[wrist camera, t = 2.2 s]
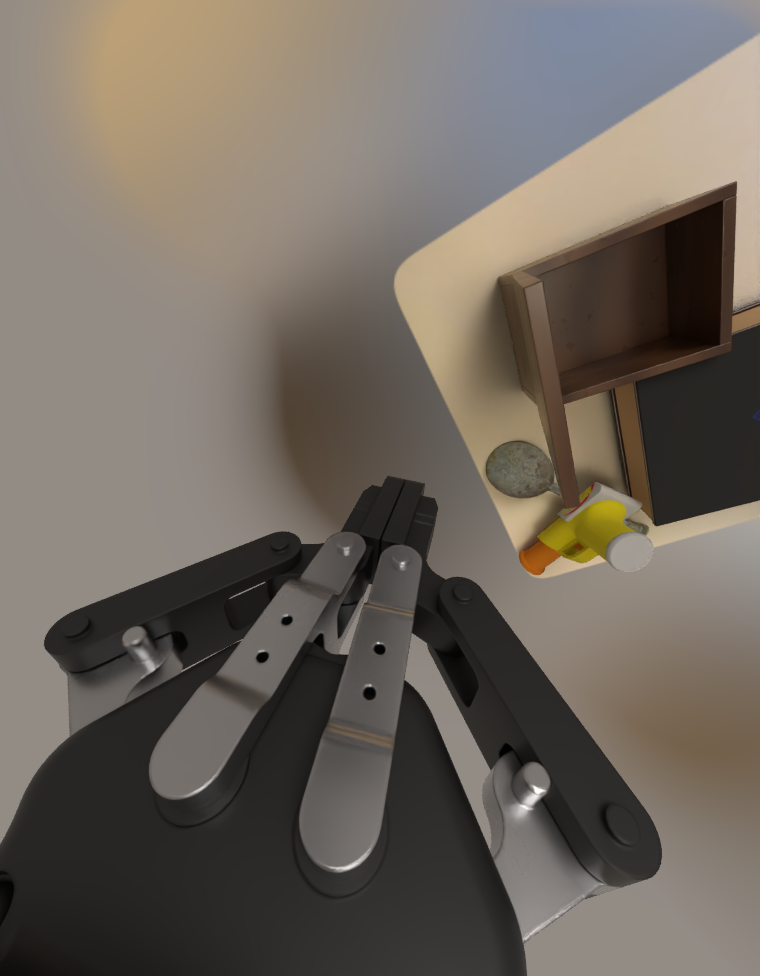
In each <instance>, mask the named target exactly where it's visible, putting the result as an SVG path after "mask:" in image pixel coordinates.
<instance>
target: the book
mask: <svg viewBox="0 0 760 976" xmlns="http://www.w3.org/2000/svg"><path fill="white" fill-rule="evenodd" d="M669 337H670V336H669ZM673 337H674V336H673ZM666 338H667V337H666ZM670 338H671V337H670ZM663 339H664V338H663ZM731 342H732V344H731V351H730V352H727V353H724V354H721V355H718V356H715V357H711V358H708V359H705V360H702V361H699V362H696V363H692V364H689V365H686V366H683V367H680V368H677V369H673V370H670V371H667V372H664V373H661V374H658V375H654V376H651V377H648V378H645V379H642V380H639V381H635V382H632V383H629V384H626V385H623V386H620V387H616V388H613V389H611V395H612V401H613V407H614V413H615V419H616V425H617V431H618V437H619V443H620V449H621V455H622V461H623V467H624V473H625V479H626V485H627V491H628V496H630V497H632V498H634V499H636V500H638V501H641V502H642V507H641V509H642V510H643V511H644V512H645V513H646V514H647V515H648V516H649V517H650V518H651V519H652V521H653V524H654V525H655V526H660V525H664V524H668V523H672V522H676V521H680V520H684V519H688V518H692V517H695V516H699V515H703V514H707V513H711V512H715V511H719V510H723V509H727V508H731V507H735V506H739V505H743V504H747V503H751V502H755V501H759V500H760V302H758V303H755V304H752V305H750V306H747V307H744V308H742V309H739V310H737V311H734V312H733V313H732V341H731ZM704 344H705V343H704ZM708 344H710V343H708ZM701 345H702V344H701ZM705 345H707V344H705ZM698 346H699V345H698ZM703 346H704V345H703ZM700 347H701V346H700Z"/></svg>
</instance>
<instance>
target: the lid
mask: <svg viewBox="0 0 760 976" xmlns="http://www.w3.org/2000/svg"><path fill="white" fill-rule="evenodd" d="M512 280H513V285H514V290H515V295H516V300H517V305H518V310H519V315H520V320H521V325H522V330H523V335H524V340H525V345H526V350H527V355H528V360H529V365H530V370H531V375H532V380H533V385H534V390H535V396H536V401H537V406H538V411H539V415H540V419H541V422H542V426H543V430H544V434H545V437H546V441H547V445H548V448H549V452H550V456H551V460H552V463H553V467H554V471H555V474H556V478H557V482H558V486H559V489H560V493H561V497H562V500H563V504H564V508H565V509H569V508H575V507H580V506H581V505H580V499H579V493H578V487H577V481H576V475H575V469H574V463H573V457H572V451H571V445H570V439H569V433H568V427H567V421H566V415H565V409H564V403H563V397H562V391H561V385H560V379H559V373H558V367H557V361H556V355H555V349H554V343H553V337H552V331H551V325H550V319H549V313H548V307H547V301H546V295H545V289H544V283H543V281H542V280H540V279H538V278H536V277H533V276H531V275H529V274H527V273H525V272H522V271H521V272H519V273H517V274H514V275H512Z"/></svg>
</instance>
